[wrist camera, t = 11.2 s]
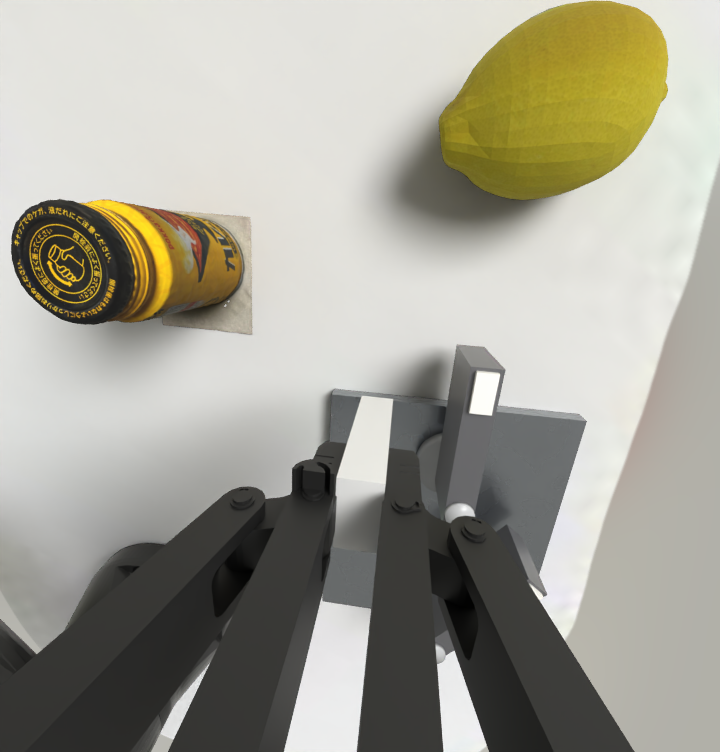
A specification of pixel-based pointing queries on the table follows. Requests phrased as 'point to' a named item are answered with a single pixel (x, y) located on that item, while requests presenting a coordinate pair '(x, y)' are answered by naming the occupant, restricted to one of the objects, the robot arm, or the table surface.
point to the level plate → (498, 486)
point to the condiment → (136, 264)
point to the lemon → (557, 101)
